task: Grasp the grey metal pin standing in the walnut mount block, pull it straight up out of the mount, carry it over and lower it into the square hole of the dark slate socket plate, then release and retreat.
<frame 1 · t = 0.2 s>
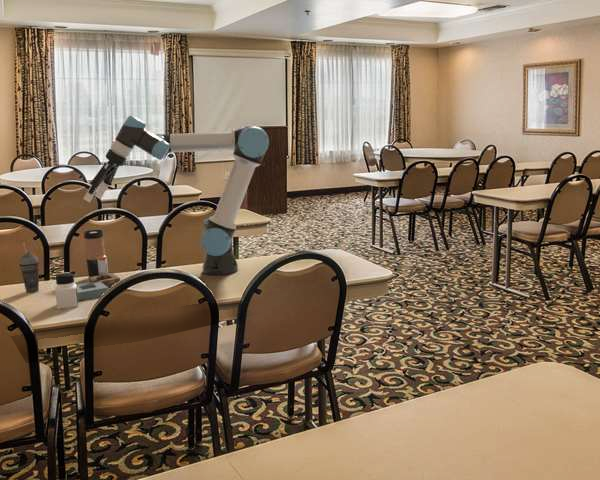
hand: (92, 199, 248), 35 cm above the table, tool tilted 35°, fingers open, 13 cm apart
mount: (104, 284, 254), on the table
beverage cup: (32, 292, 248), on the table
socket: (88, 294, 241), on the table
travel mug: (97, 278, 267), on the table
medicine bottle: (68, 306, 228), on the table
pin: (103, 270, 253), in the mount
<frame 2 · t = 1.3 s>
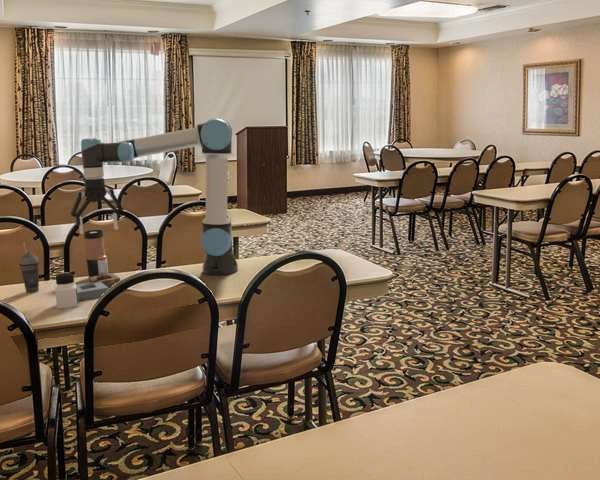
hand: (99, 231, 250), 22 cm above the table, tool pointing down, fingers open, 13 cm apart
nothing on the table moved.
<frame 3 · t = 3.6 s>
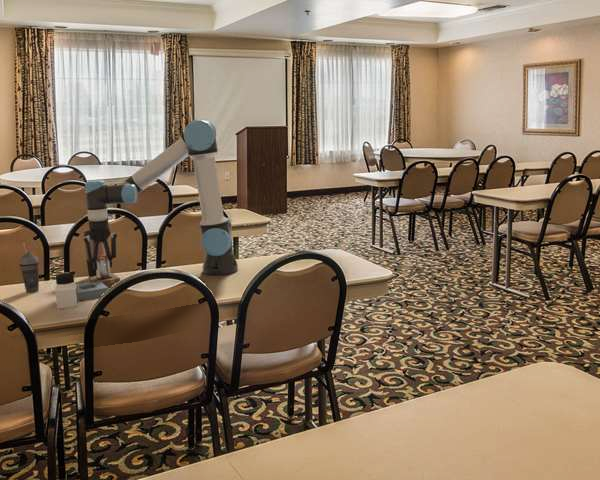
hand: (103, 276, 254), 4 cm above the table, tool pointing down, fingers closed on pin, 3 cm apart
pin: (103, 270, 253), in the mount, touching gripper
everything else where it was.
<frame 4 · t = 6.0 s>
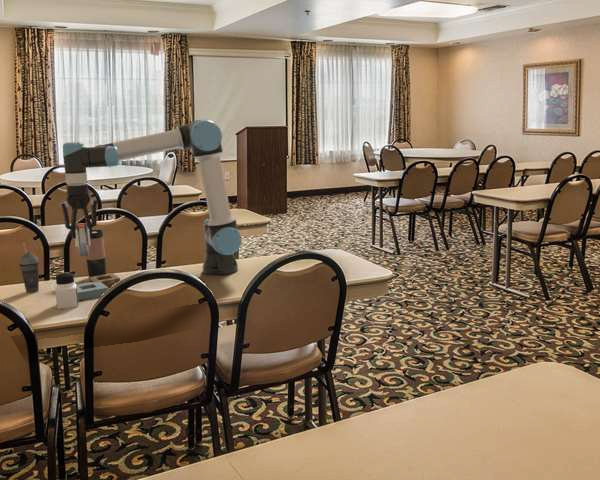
hand: (83, 245, 238), 19 cm above the table, tool pointing down, fingers closed on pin, 3 cm apart
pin: (82, 239, 237), point 22 cm above the table, touching gripper
everything else where it was.
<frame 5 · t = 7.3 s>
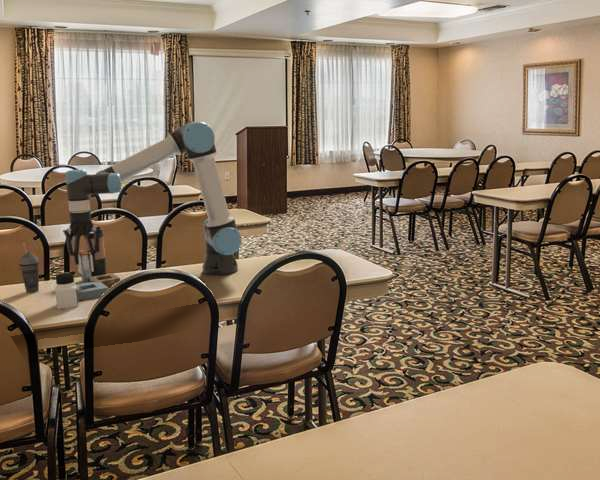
hand: (86, 271, 240), 9 cm above the table, tool pointing down, fingers closed on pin, 3 cm apart
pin: (85, 266, 239), point 11 cm above the table, touching gripper
everything else where it was.
when the fingers open (6 cm above the table, at t = 8.2 s): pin drops 2 cm, resting in socket.
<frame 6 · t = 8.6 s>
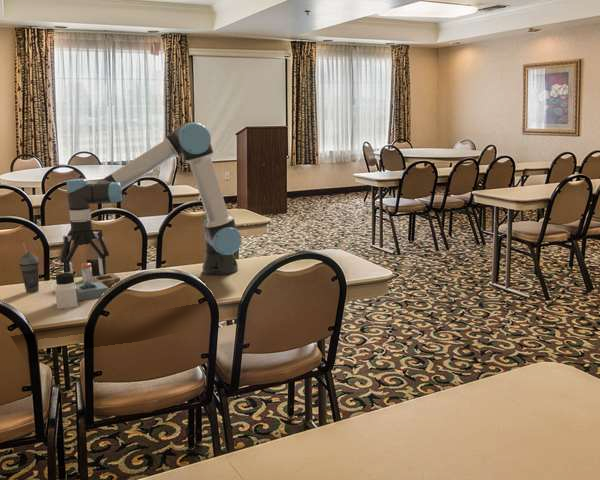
hand: (86, 277, 240), 7 cm above the table, tool pointing down, fingers open, 10 cm apart
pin: (87, 279, 240), in the socket
everything else where it was.
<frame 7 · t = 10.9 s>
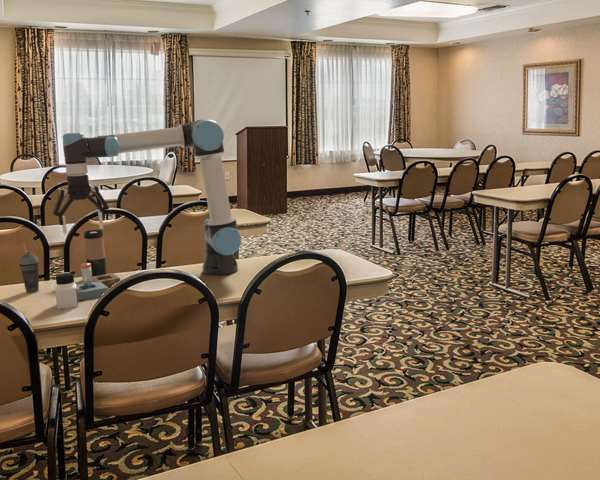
hand: (83, 231, 237), 25 cm above the table, tool pointing down, fingers open, 13 cm apart
nothing on the table moved.
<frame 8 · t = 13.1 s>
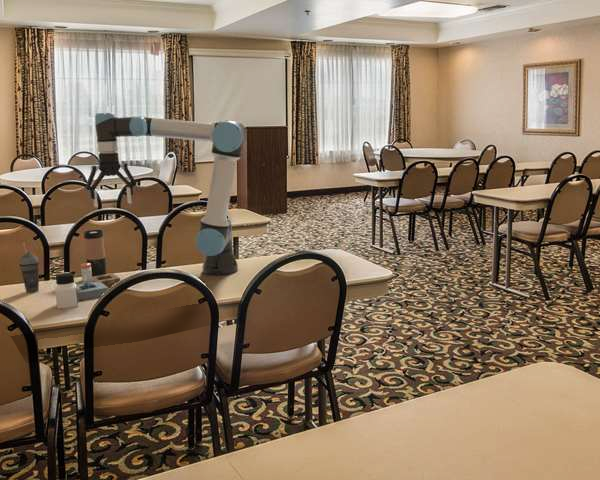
hand: (113, 205, 253), 32 cm above the table, tool pointing down, fingers open, 13 cm apart
nothing on the table moved.
at the end: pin 0.1 cm off-centre on the socket, point 6.0 cm above the socket's base; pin tilted 0°; the gripper is holding nothing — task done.
